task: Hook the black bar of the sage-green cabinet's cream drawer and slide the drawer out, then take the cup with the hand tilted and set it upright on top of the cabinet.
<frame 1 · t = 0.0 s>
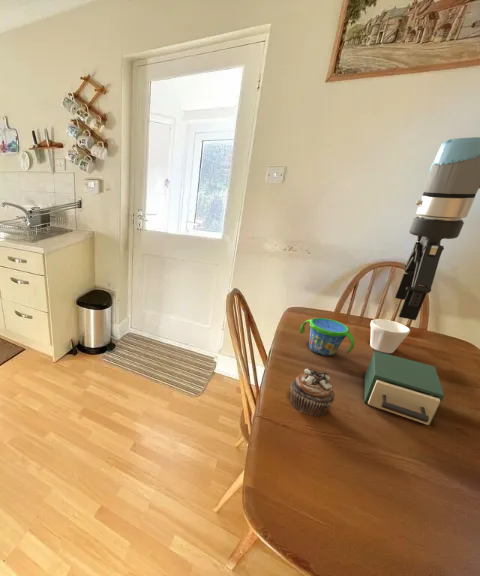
hand: (404, 308, 74), 28 cm above the table, tool pointing down, fingers open, 13 cm apart
drawer: (400, 394, 81), point 5 cm above the table, slide at 0.5 cm
snack cup: (321, 351, 108), on the table
cup: (381, 349, 109), on the table
cabinet: (393, 398, 86), on the table
cupcake: (307, 406, 83), on the table
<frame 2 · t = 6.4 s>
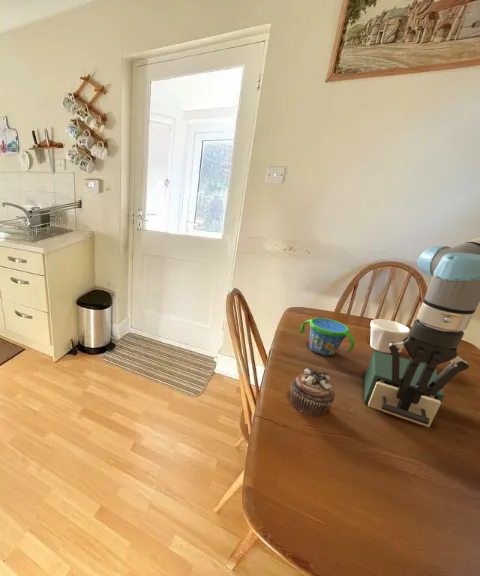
hand: (401, 410, 76), 4 cm above the table, tool pointing down, fingers closed
drawer: (401, 395, 80), point 5 cm above the table, slide at 1.3 cm
everything else where it was.
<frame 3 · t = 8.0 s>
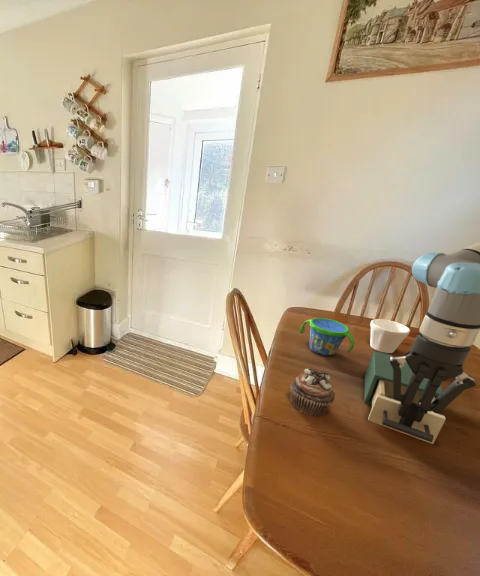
hand: (403, 428, 71), 3 cm above the table, tool pointing down, fingers closed
drawer: (403, 409, 76), point 5 cm above the table, slide at 7.6 cm, touching gripper
everything else where it was.
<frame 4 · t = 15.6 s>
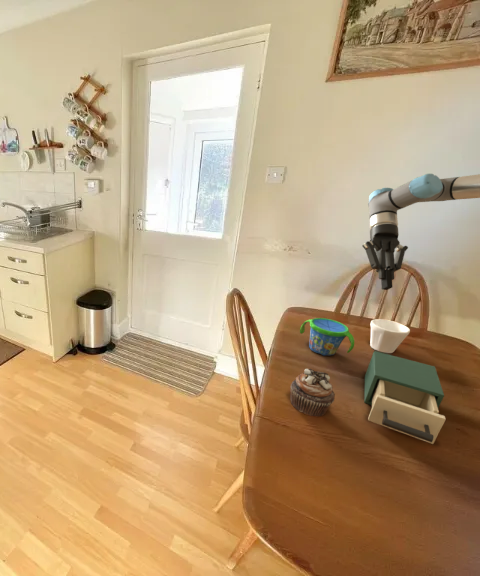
hand: (387, 288, 106), 21 cm above the table, tool tilted 40°, fingers closed
drawer: (403, 409, 76), point 5 cm above the table, slide at 7.6 cm
everything else where it was.
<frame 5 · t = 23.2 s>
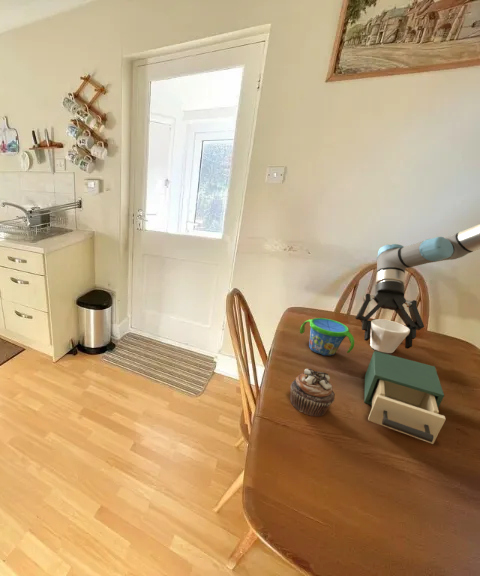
hand: (387, 343, 105), 4 cm above the table, tool tilted 45°, fingers closed on cup, 10 cm apart
cup: (381, 349, 109), on the table, touching gripper
everything else where it was.
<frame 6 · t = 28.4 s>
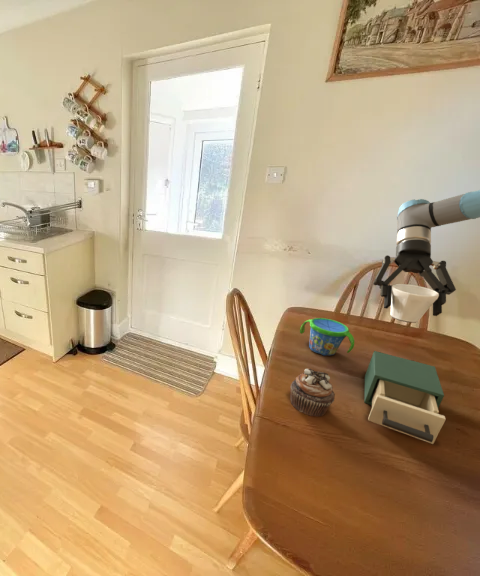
hand: (411, 310, 89), 21 cm above the table, tool tilted 45°, fingers closed on cup, 10 cm apart
cup: (403, 319, 93), point 17 cm above the table, touching gripper
everything else where it was.
when the fingers open (13 cm above the table, at t = 33.6 s): cup stays where it is, resting on cabinet.
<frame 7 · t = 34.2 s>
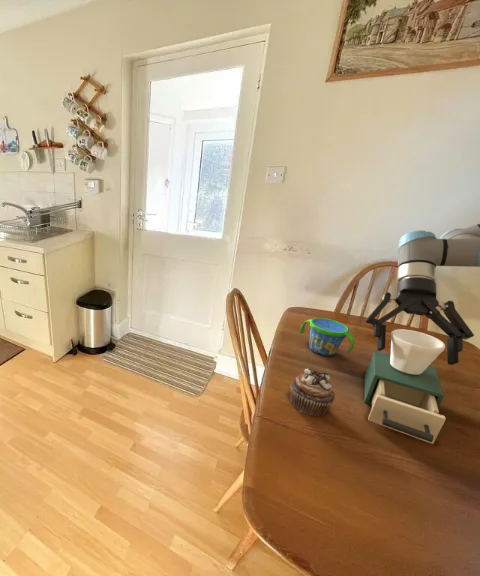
hand: (415, 356, 79), 14 cm above the table, tool tilted 45°, fingers open, 13 cm apart
cup: (404, 369, 83), point 9 cm above the table, touching cabinet
everything else where it was.
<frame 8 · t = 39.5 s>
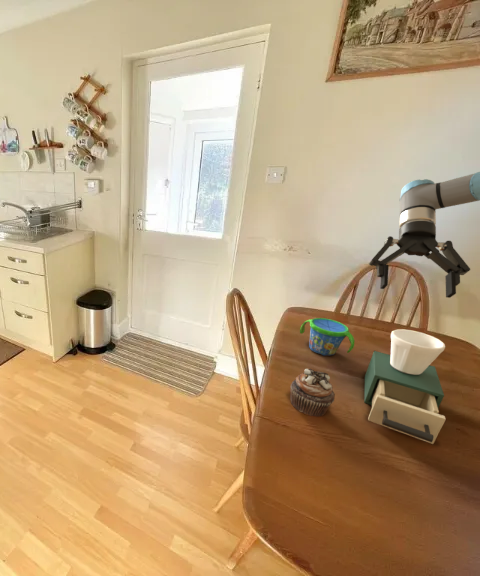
hand: (416, 291, 85), 28 cm above the table, tool tilted 45°, fingers open, 13 cm apart
nothing on the table moved.
at the end: drawer slide at 7.6 cm; cup inside the target area on the cabinet (1.1 cm from its centre), point 8.9 cm above the cabinet's base; cup tilted 0° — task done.
